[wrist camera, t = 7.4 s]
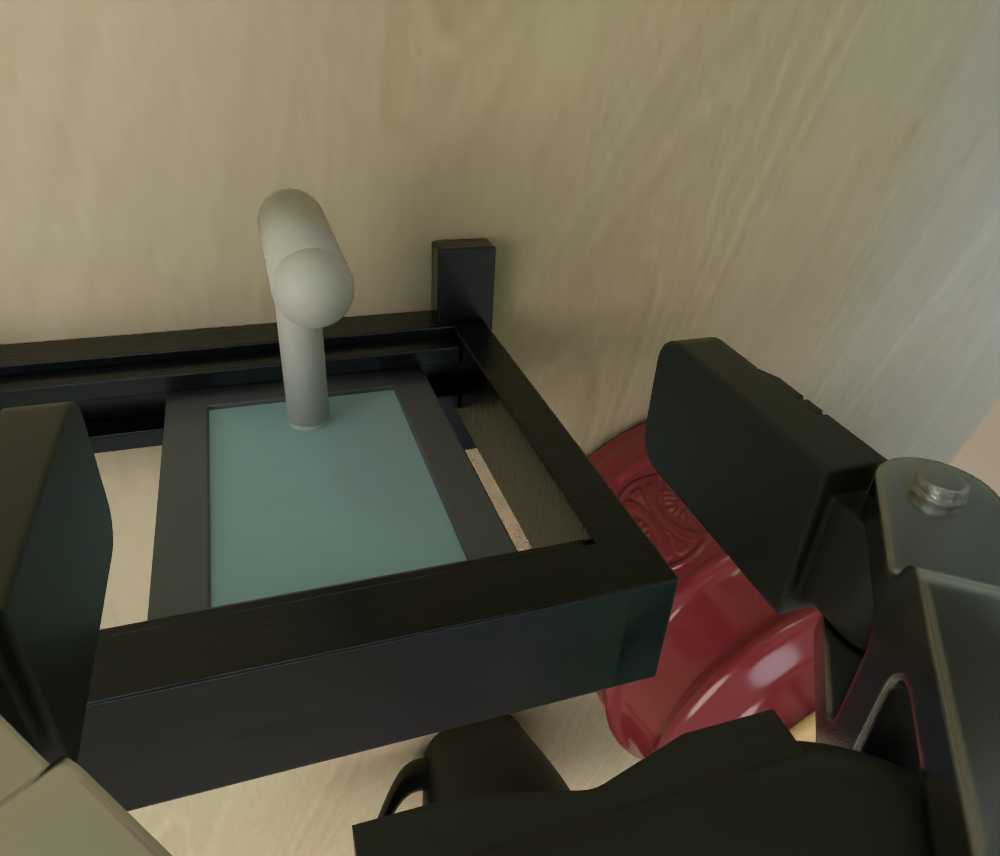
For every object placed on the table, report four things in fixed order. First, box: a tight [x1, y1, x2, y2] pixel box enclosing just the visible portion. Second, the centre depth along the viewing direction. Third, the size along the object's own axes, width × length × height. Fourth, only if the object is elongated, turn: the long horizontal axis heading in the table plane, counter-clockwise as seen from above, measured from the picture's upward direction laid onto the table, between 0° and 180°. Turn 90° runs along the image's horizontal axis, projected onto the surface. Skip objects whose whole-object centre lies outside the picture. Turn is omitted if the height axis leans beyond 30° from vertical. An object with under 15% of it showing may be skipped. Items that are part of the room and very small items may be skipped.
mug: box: [377, 715, 570, 819], centre depth 36 cm, size 8×12×10 cm
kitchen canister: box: [588, 423, 821, 760], centre depth 29 cm, size 13×13×18 cm
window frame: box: [0, 239, 679, 811], centre depth 19 cm, size 19×8×14 cm, turn 87°
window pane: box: [147, 189, 518, 621], centre depth 18 cm, size 8×7×11 cm
